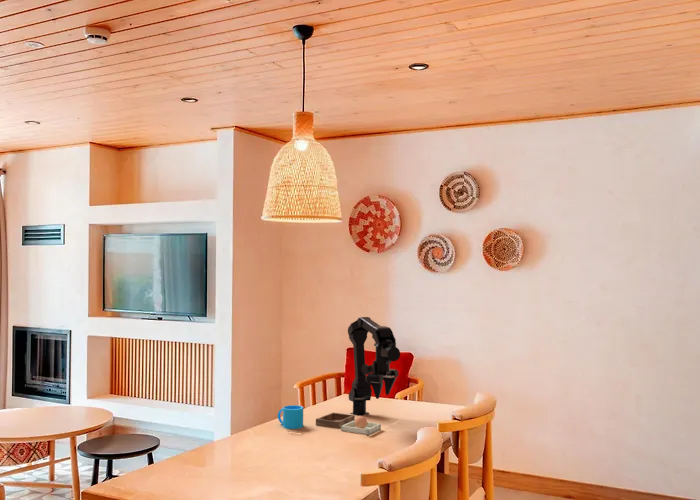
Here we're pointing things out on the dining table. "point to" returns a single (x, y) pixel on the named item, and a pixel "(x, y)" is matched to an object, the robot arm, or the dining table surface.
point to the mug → (291, 417)
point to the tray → (368, 430)
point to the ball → (361, 422)
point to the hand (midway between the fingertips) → (382, 396)
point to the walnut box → (334, 420)
